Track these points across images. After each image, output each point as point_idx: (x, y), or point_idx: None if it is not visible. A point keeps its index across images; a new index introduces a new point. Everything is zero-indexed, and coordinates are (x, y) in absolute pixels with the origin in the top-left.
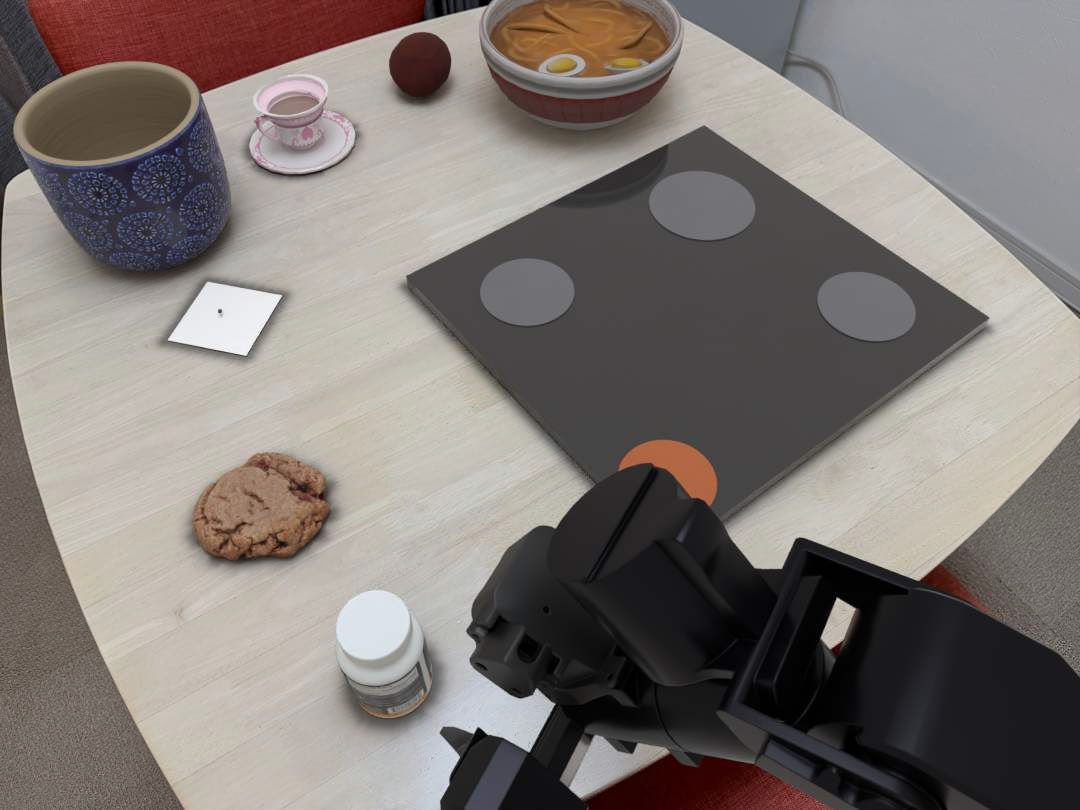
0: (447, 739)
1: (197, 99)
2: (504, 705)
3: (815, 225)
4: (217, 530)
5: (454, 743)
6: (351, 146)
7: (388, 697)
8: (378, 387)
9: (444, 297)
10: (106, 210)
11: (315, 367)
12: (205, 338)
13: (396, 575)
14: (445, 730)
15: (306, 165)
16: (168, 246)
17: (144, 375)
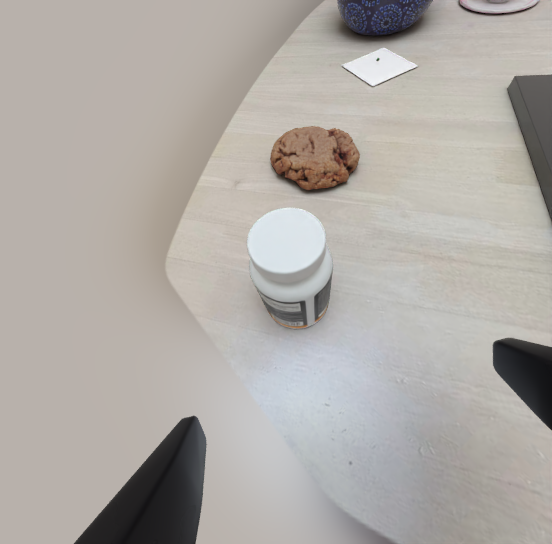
0: (140, 468)
1: None
2: (350, 384)
3: None
4: (280, 150)
5: (100, 521)
6: (531, 4)
7: (270, 306)
8: (436, 134)
9: (536, 97)
10: None
11: (405, 107)
12: (359, 71)
13: (353, 242)
14: (176, 434)
15: (490, 9)
16: (378, 6)
17: (318, 76)
